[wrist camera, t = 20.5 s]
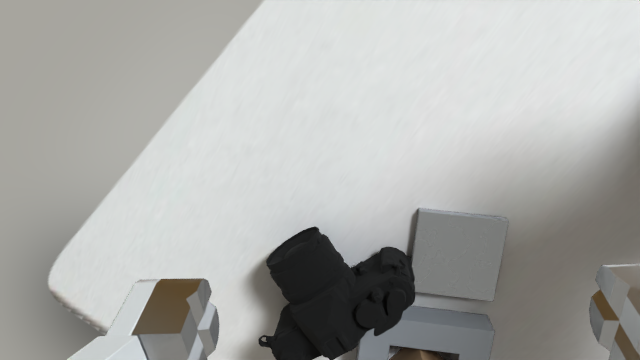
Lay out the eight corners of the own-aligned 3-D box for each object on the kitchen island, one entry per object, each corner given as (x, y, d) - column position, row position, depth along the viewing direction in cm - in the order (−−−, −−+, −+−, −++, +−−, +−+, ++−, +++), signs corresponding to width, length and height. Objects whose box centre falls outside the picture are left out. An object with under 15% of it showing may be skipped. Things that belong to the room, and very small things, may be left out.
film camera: (369, 189, 47) (370, 220, 39) (421, 272, 49) (433, 319, 40) (238, 266, 50) (211, 310, 42) (291, 342, 52) (276, 400, 43)
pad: (505, 217, 47) (508, 221, 46) (490, 296, 49) (493, 301, 48) (418, 208, 47) (419, 211, 46) (407, 286, 49) (408, 290, 48)
